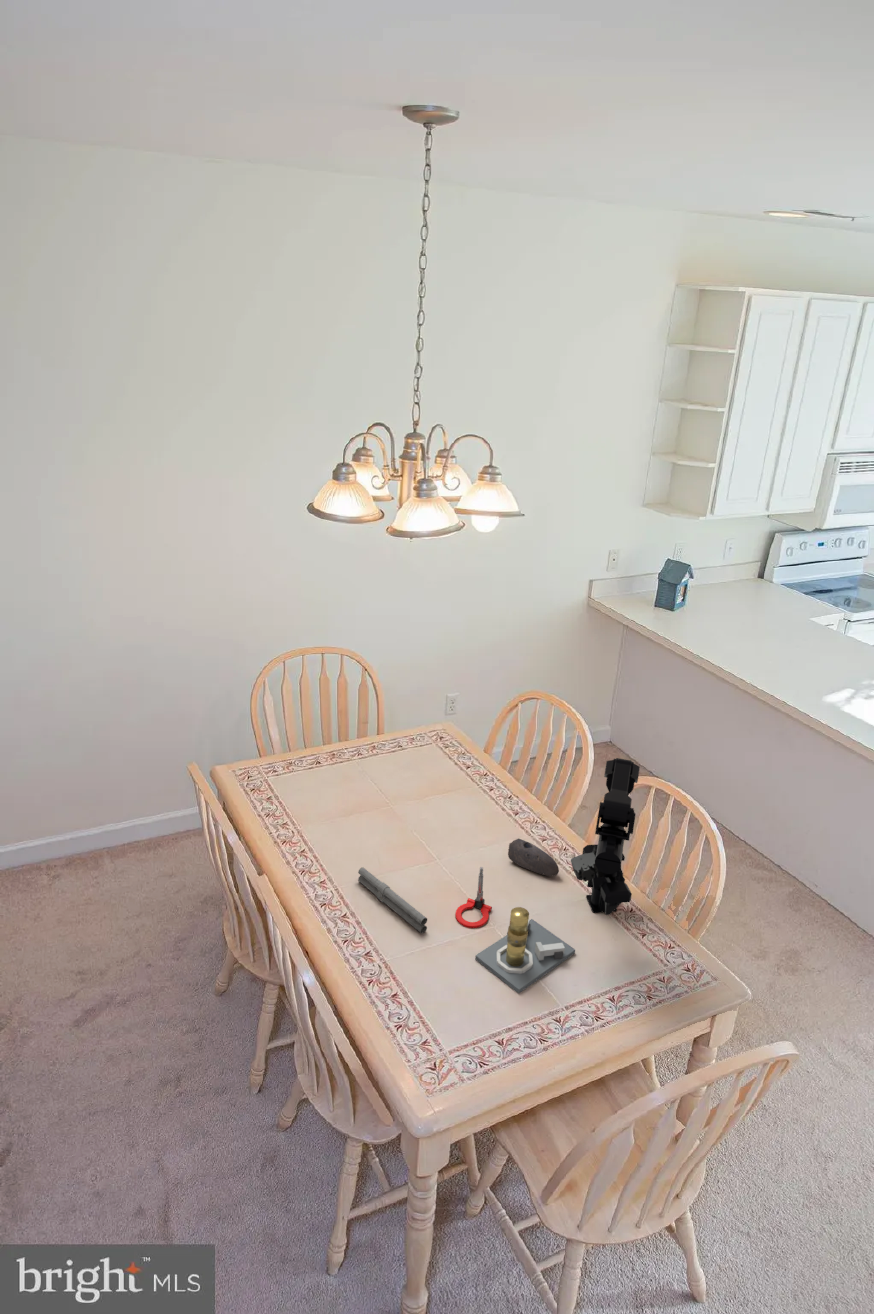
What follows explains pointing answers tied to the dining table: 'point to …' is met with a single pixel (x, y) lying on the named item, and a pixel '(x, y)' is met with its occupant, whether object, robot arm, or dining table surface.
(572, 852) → the dining table surface
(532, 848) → the perforated stone tool
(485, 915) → the tow hook
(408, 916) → the metal rod assembly
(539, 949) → the base
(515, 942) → the coupler
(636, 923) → the dining table surface
